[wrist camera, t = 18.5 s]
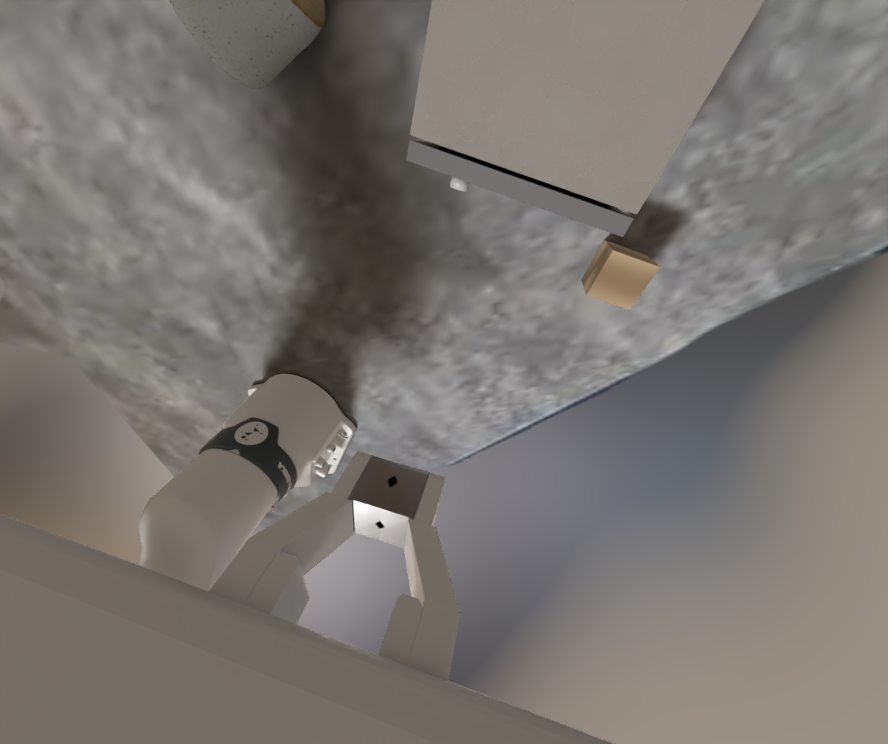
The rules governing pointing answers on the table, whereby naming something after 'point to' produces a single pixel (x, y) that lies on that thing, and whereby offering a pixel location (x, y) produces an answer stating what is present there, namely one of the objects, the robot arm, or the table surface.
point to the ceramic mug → (252, 33)
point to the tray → (517, 186)
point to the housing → (574, 85)
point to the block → (618, 275)
